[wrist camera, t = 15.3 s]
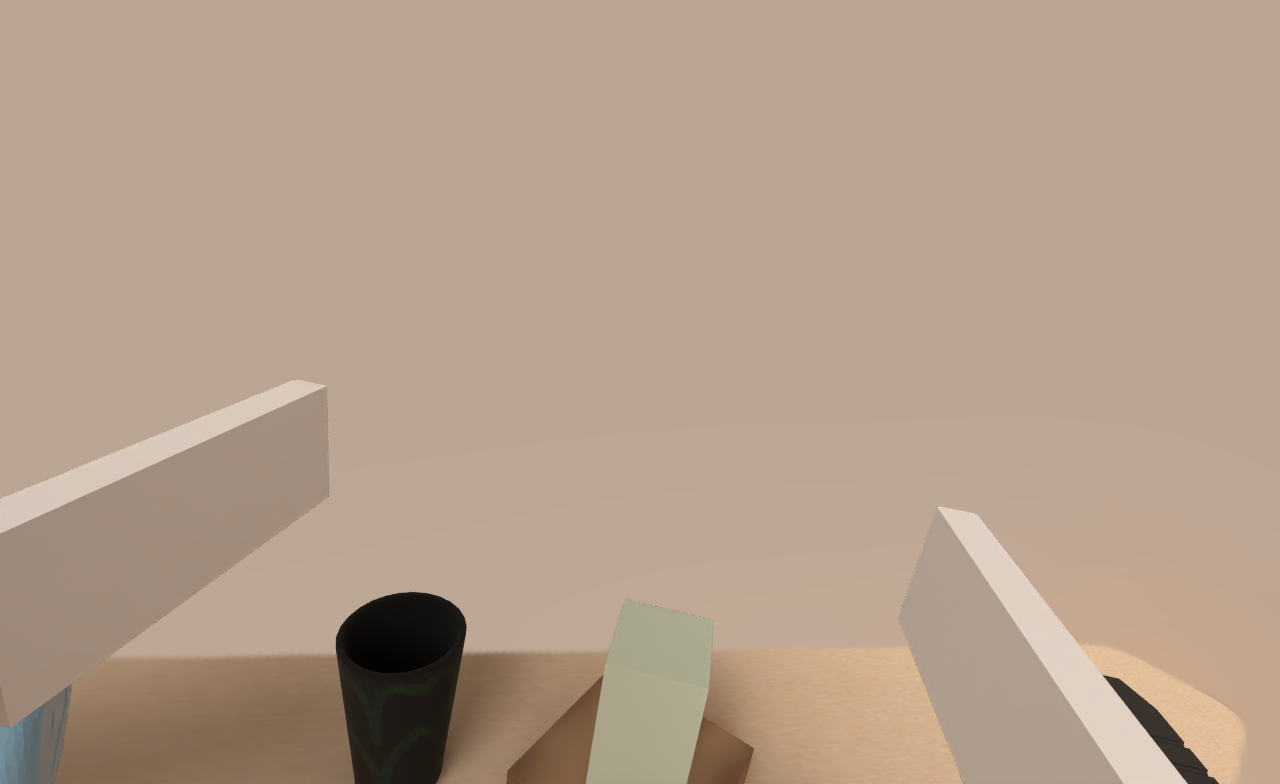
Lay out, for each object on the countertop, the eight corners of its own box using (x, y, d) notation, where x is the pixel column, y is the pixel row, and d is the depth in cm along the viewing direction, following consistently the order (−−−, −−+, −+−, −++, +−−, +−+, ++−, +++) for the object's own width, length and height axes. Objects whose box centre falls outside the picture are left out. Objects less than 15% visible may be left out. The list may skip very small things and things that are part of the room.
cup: (325, 753, 42) (322, 612, 39) (433, 708, 47) (440, 579, 43) (355, 850, 37) (355, 696, 33) (474, 788, 42) (486, 648, 38)
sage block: (584, 791, 38) (605, 662, 35) (605, 715, 43) (625, 599, 40) (679, 817, 37) (709, 688, 34) (687, 736, 43) (714, 619, 40)
